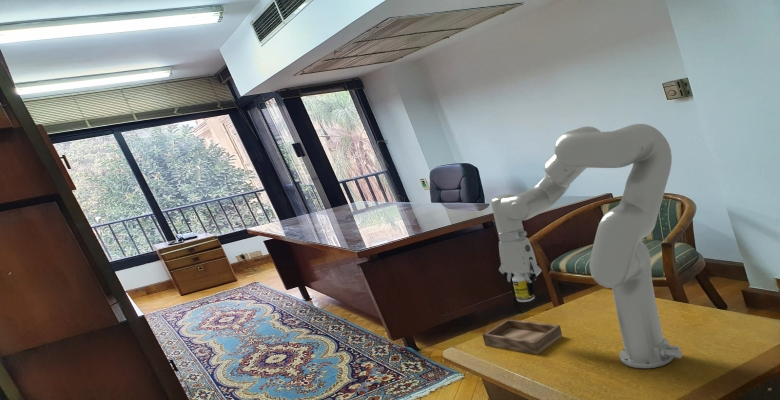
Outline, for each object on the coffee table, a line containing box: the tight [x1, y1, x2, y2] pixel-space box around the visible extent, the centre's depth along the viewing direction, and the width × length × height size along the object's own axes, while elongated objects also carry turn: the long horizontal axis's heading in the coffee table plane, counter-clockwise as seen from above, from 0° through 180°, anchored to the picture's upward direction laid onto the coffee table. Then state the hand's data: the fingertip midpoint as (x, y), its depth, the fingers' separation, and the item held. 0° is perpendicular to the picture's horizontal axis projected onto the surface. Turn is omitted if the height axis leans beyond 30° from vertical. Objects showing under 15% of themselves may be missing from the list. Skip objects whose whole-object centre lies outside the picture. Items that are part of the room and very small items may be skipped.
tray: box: [482, 318, 563, 355], centre depth 165 cm, size 20×13×4 cm, turn 40°
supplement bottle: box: [512, 272, 536, 303], centre depth 159 cm, size 5×5×10 cm
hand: (524, 293), depth 159 cm, fingers closed on supplement bottle, 5 cm apart
